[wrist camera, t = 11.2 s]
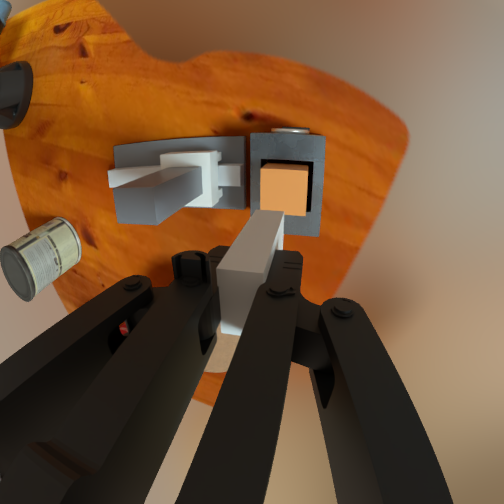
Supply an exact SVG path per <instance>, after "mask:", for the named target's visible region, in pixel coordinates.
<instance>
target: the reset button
mask: <svg viewBox="0 0 504 504" xmlns="http://www.w3.org/2000/svg"><path fill="white" fill-rule="evenodd" d="M307 183H308V165H300V164H282V163H267V164H265V165H264V166H263V167H262V168H261V178H260V210H272V211H284V215H295V216H306V201H307Z"/></svg>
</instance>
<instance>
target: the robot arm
mask: <svg viewBox="0 0 504 504" xmlns="http://www.w3.org/2000/svg"><path fill="white" fill-rule="evenodd" d="M11 8H12V7H11V4H10V3H9V2H8V1H6V0H0V35H1V32H2V30H3V28H4V27H5V25H6V21H7V18H8V16H9V14H10V12H11ZM32 87H33V74H32V69H31V66H30V64H29V63H28V62H26V61H16V62H13V63H10V64H8V65H5V66H3V67H1V68H0V129H11V128H15V127H17V126H18V125H19V124H20V123H21V121H22V120H23V118H24V116H25V114H26V112H27V109H28V106H29V103H30V99H31V94H32ZM283 231H284V211H272V210H257V209H256V210H255V212H254V213H253V214H252V216H251V217H250V219H249V220H248V222H247V223H246V225H245V226H244V228H243V229H242V231H241V232H240V234H239V235H238V237H237V238H236V240H235V241H234V242H233V244H232V245H231V247H230V246H217V247H215V248H213V249H211V250H210V251H209V253H208V254H207V253H205V252H202V251H184V252H180V253H178V254H175V255H174V256H173V257H171V258H172V265H173V271H174V278H175V279H174V280H173V282H172V283H171V284H170V285H169V286H168V287H153V288H152V284H151V281H150V279H149V278H148V277H146V276H141V275H132V276H130V277H126V278H124V279H122V280H120V281H119V282H117V283H116V284H114V285H113V286H111V287H109V288H108V289H106V290H105V291H103V292H102V293H100V294H99V295H97V296H96V297H94V298H93V299H91V300H90V301H88V302H87V303H85V304H84V305H82V306H81V307H79V308H78V309H76V310H75V311H73V312H72V313H70V314H69V315H67V316H66V317H65V318H63V319H62V320H60V321H59V322H57V323H56V324H54V325H53V326H52V327H50V328H49V329H47V330H46V331H44V332H43V333H42V334H40V335H39V336H38V337H36V338H35V339H33V340H32V341H31V342H29V343H28V344H26V345H25V346H24V347H22V348H21V349H20V350H18V351H17V352H16V353H14V354H13V355H12V356H10V357H9V358H8V359H6V360H5V361H4V362H3V363H1V364H0V504H144V502H145V499H146V497H147V495H148V493H149V490H150V488H151V486H152V484H153V482H154V480H155V478H156V475H157V473H158V471H159V469H160V466H161V464H162V462H163V460H164V458H165V455H166V453H167V451H168V449H169V447H170V445H171V443H172V440H173V438H174V436H175V434H176V431H177V429H178V427H179V424H180V423H181V420H182V418H183V415H184V414H185V412H186V409H187V407H188V405H189V403H190V401H191V398H192V396H193V394H194V392H195V389H196V387H197V385H198V383H199V381H200V378H201V376H202V374H203V372H204V369H205V367H206V365H207V363H208V361H209V358H210V356H211V354H212V352H213V349H214V347H215V345H216V343H217V328H218V326H219V324H221V333H225V334H232V335H238V336H240V338H239V341H238V344H237V346H236V349H235V352H234V354H233V357H232V360H231V362H230V365H229V368H228V370H227V373H226V376H225V378H224V381H223V384H222V386H221V389H220V391H219V394H218V397H217V399H216V402H215V405H214V407H213V410H212V412H211V415H210V417H209V420H208V423H207V425H206V428H205V430H204V433H203V435H202V438H201V440H200V443H199V446H198V448H197V451H196V453H195V456H194V458H193V461H192V463H191V466H190V468H189V471H188V473H187V476H186V478H185V481H184V483H183V485H182V488H181V490H180V493H179V496H178V497H177V500H176V502H175V504H263V503H264V499H265V495H266V491H267V487H268V482H269V477H270V473H271V469H272V464H273V460H274V455H275V450H276V445H277V440H278V435H279V430H280V425H281V419H282V414H283V408H284V402H285V396H286V390H287V384H288V378H289V372H290V366H291V361H292V362H295V363H298V364H300V365H303V366H306V367H308V368H309V373H310V378H311V381H312V386H313V390H314V394H315V399H316V403H317V407H318V412H319V417H320V421H321V425H322V430H323V434H324V439H325V444H326V448H327V453H328V458H329V463H330V468H331V472H332V477H333V483H334V488H335V492H336V498H337V503H338V504H453V501H452V498H451V495H450V492H449V489H448V486H447V483H446V481H445V478H444V476H443V473H442V470H441V467H440V465H439V462H438V460H437V457H436V455H435V452H434V450H433V447H432V445H431V443H430V440H429V438H428V436H427V434H426V431H425V429H424V427H423V424H422V422H421V420H420V418H419V415H418V413H417V411H416V409H415V407H414V405H413V402H412V400H411V399H410V396H409V394H408V392H407V390H406V388H405V386H404V384H403V382H402V380H401V378H400V376H399V374H398V372H397V370H396V368H395V366H394V364H393V362H392V360H391V358H390V356H389V355H388V353H387V351H386V349H385V347H384V345H383V343H382V341H381V340H380V338H379V336H378V334H377V332H376V330H375V329H374V327H373V325H372V323H371V322H370V320H369V318H368V316H367V314H366V313H365V311H364V309H363V308H362V307H361V306H360V305H359V304H358V303H356V302H355V301H353V300H350V299H347V298H332V299H328V300H326V301H325V302H323V304H322V305H321V306H320V305H317V304H314V303H311V302H309V301H308V300H306V299H305V298H304V297H303V296H302V294H301V293H300V286H301V276H302V266H303V256H302V255H301V254H300V252H298V251H287V250H283ZM124 321H125V324H126V327H127V330H128V332H127V333H125V334H122V333H121V331H120V328H119V325H120V324H121V323H122V322H124Z"/></svg>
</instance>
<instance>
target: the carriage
mask: <svg viewBox="0 0 504 504" xmlns="http://www.w3.org/2000/svg"><path fill="white" fill-rule="evenodd" d="M221 160H222V157H221V152H217V150H215V151H186V152H169V153H165V154H161V155H160V164H161V170H160V171H157V172H154V173H151V174H149V175H146V176H143V177H141V178H138V179H135V180H133V181H130V182H128V183H125V184H123V185H120V186H118V187H115V188H113V194H114V201H115V208H116V215H117V221H118V223H125V224H146V225H158V224H159V223H161V222H162V221H164V220H165V219H166V218H168V217H169V216H171V215H172V214H174V213H175V212H176V211H178V210H179V209H181V208H182V207H184V206H194V207H213V206H214V205H215V204H216V203H218V202H219V198H221V197H222V196H223V194H222V188H218V161H221Z"/></svg>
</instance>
